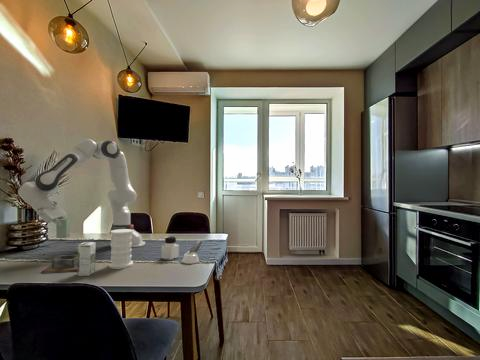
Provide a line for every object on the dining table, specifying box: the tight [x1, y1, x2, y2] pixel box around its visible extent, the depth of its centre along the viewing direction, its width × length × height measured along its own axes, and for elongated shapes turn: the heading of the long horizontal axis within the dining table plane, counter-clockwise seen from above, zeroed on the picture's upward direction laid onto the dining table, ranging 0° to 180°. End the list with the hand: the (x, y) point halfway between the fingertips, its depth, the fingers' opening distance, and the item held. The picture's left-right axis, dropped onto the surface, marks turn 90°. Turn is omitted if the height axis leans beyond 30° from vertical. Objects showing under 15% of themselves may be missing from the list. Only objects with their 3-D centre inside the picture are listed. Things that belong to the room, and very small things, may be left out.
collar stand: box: [41, 254, 78, 274], centre depth 146 cm, size 16×16×5 cm
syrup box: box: [76, 241, 97, 277], centre depth 136 cm, size 6×6×14 cm
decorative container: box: [108, 229, 134, 270], centre depth 150 cm, size 12×12×18 cm
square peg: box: [55, 218, 71, 239], centre depth 161 cm, size 5×5×10 cm
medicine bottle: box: [160, 235, 180, 261], centre depth 166 cm, size 7×7×12 cm
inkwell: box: [181, 239, 203, 265], centre depth 163 cm, size 9×18×10 cm, turn 160°
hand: (64, 224), depth 161 cm, fingers closed on square peg, 5 cm apart
